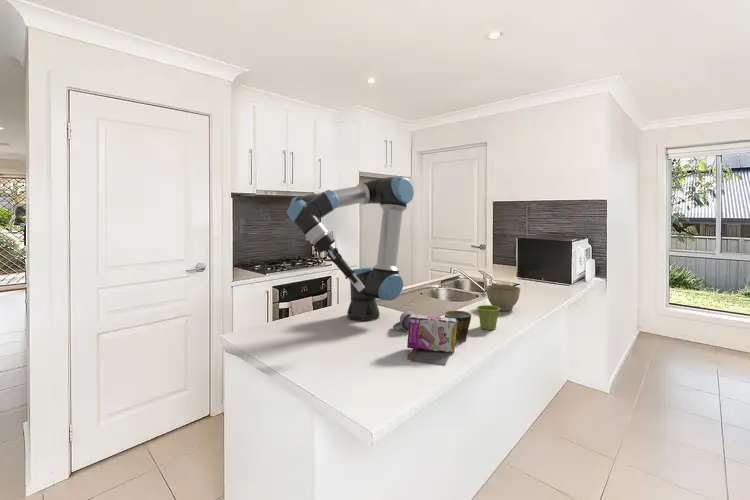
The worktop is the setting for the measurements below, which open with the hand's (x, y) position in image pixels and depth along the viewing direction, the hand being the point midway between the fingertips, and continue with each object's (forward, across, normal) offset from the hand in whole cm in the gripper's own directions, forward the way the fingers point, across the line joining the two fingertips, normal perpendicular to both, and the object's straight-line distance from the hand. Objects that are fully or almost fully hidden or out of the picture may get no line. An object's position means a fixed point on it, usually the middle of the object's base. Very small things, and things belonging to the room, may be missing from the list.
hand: (362, 289), depth 137 cm
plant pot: (+48, -20, +29) cm, 59 cm away
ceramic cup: (+38, -5, +15) cm, 42 cm away
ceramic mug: (+27, -19, +2) cm, 33 cm away
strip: (+28, +6, +1) cm, 29 cm away
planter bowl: (+57, -51, +44) cm, 88 cm away
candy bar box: (+21, +5, +4) cm, 22 cm away
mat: (+32, +9, +5) cm, 33 cm away
